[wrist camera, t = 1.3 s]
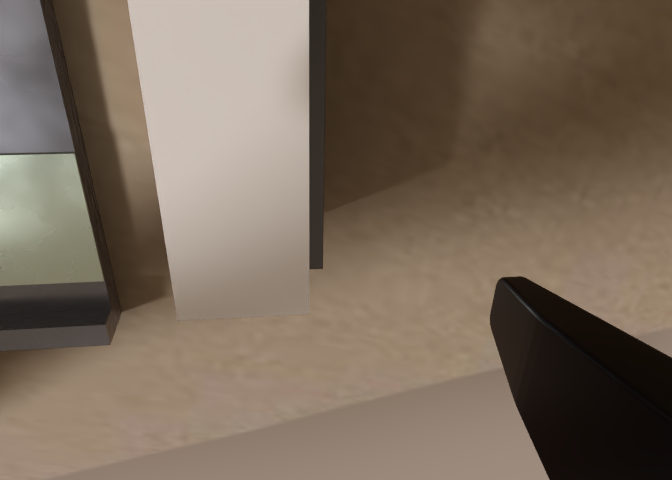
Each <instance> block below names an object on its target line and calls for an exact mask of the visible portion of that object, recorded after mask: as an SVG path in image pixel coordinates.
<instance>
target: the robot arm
mask: <svg viewBox="0 0 672 480" xmlns="http://www.w3.org/2000/svg"><path fill="white" fill-rule="evenodd" d="M490 325H491V330H492V333H493V336H494V339H495V342H496V346H497V349H498V352H499V355H500V358H501V361H502V364H503V367H504V371H505V374H506V376H507V380H508V383H509V386H510V389H511V392H512V395H513V398H514V401H515V403H516V406H517V408H518V411H519V413H520V415H521V417H522V420H523V422H524V424H525V426H526V429H527V431H528V433H529V435H530V438H531V440H532V442H533V444H534V446H535V449H536V451H537V453H538V455H539V457H540V460H541V462H542V464H543V466H544V468H545V470H546V473H547V475H548V477H549V479H550V480H672V358H671V357H669V356H667V355H666V354H664V353H662V352H660V351H658V350H657V349H655V348H653V347H651V346H649V345H647V344H646V343H644V342H642V341H640V340H638V339H636V338H635V337H633V336H631V335H629V334H627V333H626V332H624V331H622V330H620V329H618V328H616V327H615V326H613V325H611V324H609V323H607V322H605V321H604V320H602V319H600V318H598V317H596V316H594V315H593V314H591V313H589V312H587V311H585V310H583V309H582V308H580V307H578V306H576V305H574V304H572V303H571V302H569V301H567V300H565V299H563V298H561V297H560V296H558V295H556V294H554V293H552V292H550V291H549V290H547V289H545V288H543V287H541V286H539V285H538V284H536V283H534V282H532V281H530V280H529V279H527V278H525V277H521V276H519V277H503V278H501V279H499V280H498V282H497V285H496V289H495V294H494V299H493V303H492V308H491V313H490Z"/></svg>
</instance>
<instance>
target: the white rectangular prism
mask: <svg viewBox="0 0 672 480" xmlns="http://www.w3.org/2000/svg"><path fill="white" fill-rule="evenodd" d="M128 6H129V13H130V19H131V26H132V32H133V39H134V45H135V51H136V58H137V64H138V71H139V77H140V84H141V90H142V96H143V103H144V109H145V116H146V122H147V129H148V135H149V142H150V148H151V154H152V161H153V167H154V174H155V180H156V187H157V193H158V199H159V206H160V212H161V219H162V225H163V232H164V238H165V244H166V251H167V257H168V264H169V270H170V277H171V283H172V290H173V296H174V302H175V309H176V315H177V321H188V320H206V319H225V318H243V317H262V316H280V315H299V314H309V269H323V210H324V136H325V61H326V0H128Z"/></svg>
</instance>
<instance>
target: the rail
mask: <svg viewBox="0 0 672 480" xmlns="http://www.w3.org/2000/svg"><path fill="white" fill-rule="evenodd" d="M120 315H121V310H120V305H119V301H118V296H117V292H116V287H115V283H114V278H113V274H112V269H111V265H110V260H109V256H108V251H107V247H106V242H105V238H104V233H103V229H102V224H101V220H100V215H99V211H98V206H97V202H96V197H95V193H94V188H93V184H92V179H91V175H90V170H89V166H88V161H87V157H86V152H85V148H84V143H83V139H82V134H81V130H80V125H79V121H78V116H77V112H76V107H75V103H74V98H73V94H72V89H71V85H70V80H69V76H68V71H67V67H66V62H65V58H64V53H63V49H62V44H61V40H60V35H59V31H58V26H57V22H56V17H55V13H54V8H53V4H52V0H0V351H13V350H30V349H47V348H64V347H82V346H99V345H110V344H111V341H112V338H113V335H114V333H115V330H116V327H117V324H118V321H119V318H120Z"/></svg>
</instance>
